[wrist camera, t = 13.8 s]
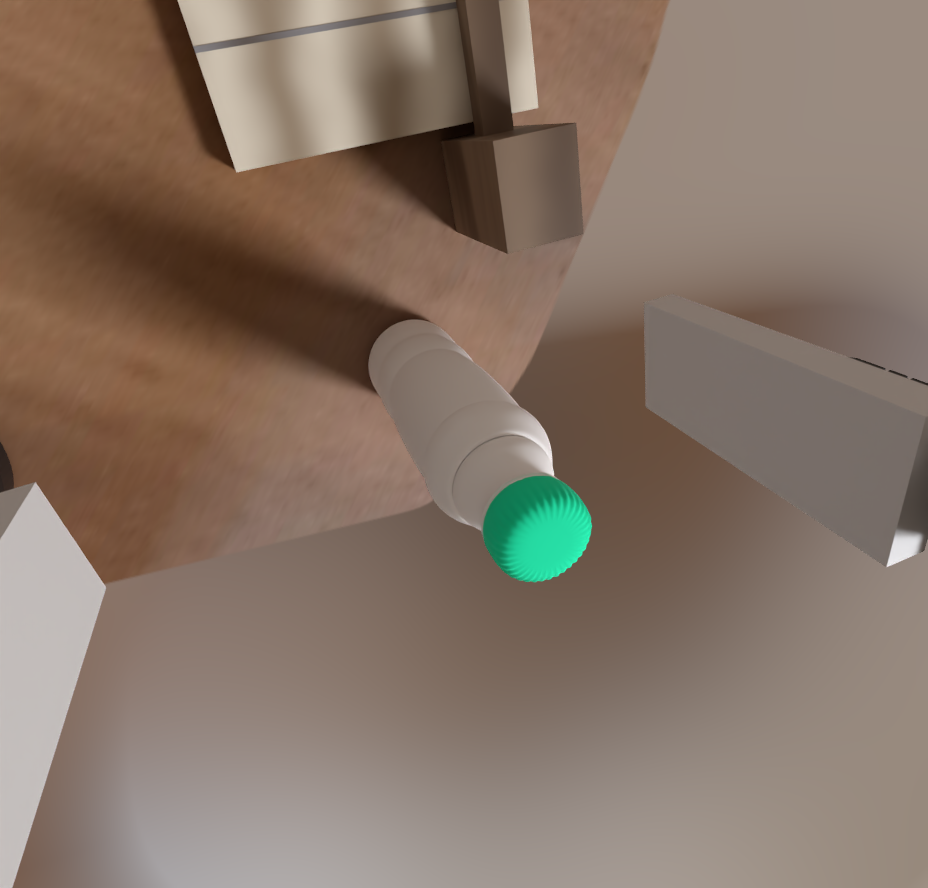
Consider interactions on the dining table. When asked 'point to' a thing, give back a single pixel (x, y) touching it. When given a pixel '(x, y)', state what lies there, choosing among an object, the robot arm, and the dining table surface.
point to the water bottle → (478, 451)
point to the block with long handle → (508, 153)
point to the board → (341, 71)
